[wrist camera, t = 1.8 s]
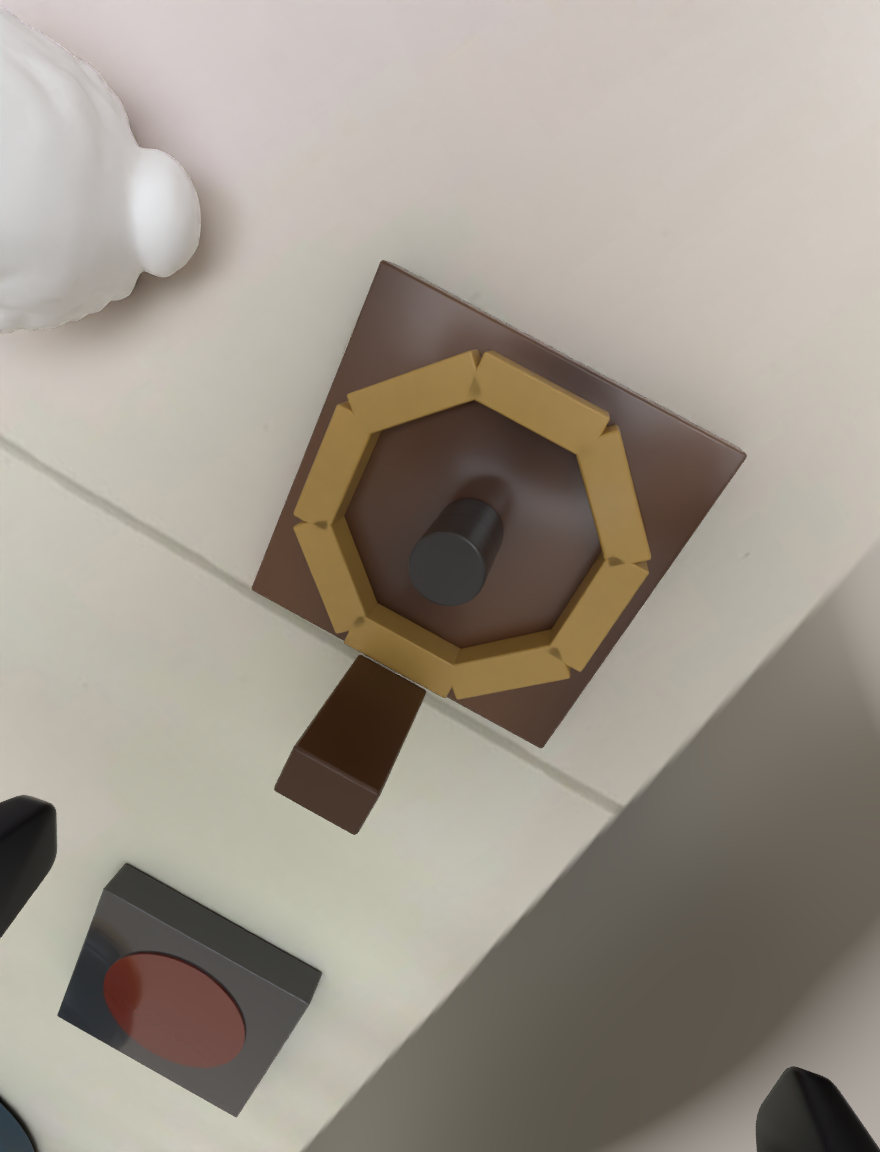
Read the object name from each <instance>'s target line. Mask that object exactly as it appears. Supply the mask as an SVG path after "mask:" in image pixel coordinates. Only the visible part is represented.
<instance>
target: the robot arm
mask: <svg viewBox="0 0 880 1152" xmlns="http://www.w3.org/2000/svg"><path fill="white" fill-rule="evenodd" d="M56 853H57V819H56V809H55V807H54V806H53V805H52V804H51V803H49V802H46V801H43V800H40V799H37V798H35V797H32V796H28V795H21V796H17V797H13V798H11V799H8V800H6V801H3V802H1V803H0V938H1V937H2V935H3V934H4V933H5V931H6V930H7V928H8V927H9V926H10V924H11V923H12V922H13V920H14V919H15V918H16V916H17V915H18V913H19V912H20V911H21V909H22V908H23V907H24V905H25V904H26V902H27V901H28V900H29V898H30V897H31V896H32V894H33V893H34V892H35V890H36V889H37V887H38V886H39V885H40V883H41V882H42V881H43V879H44V878H45V876H46V875H47V874H48V872H49V871H50V869H51V867H52V865H53V863H54V861H55V857H56ZM756 1144H757V1152H880V1149H879V1147H878V1146H877V1144H876V1143H875V1142H874V1140H873V1139H872V1137H871V1136H870V1134H869V1133H868V1131H867V1130H866V1128H865V1127H864V1126H863V1124H862V1123H861V1121H860V1120H859V1118H858V1117H857V1115H856V1114H855V1112H854V1111H853V1110H852V1108H851V1107H850V1105H849V1104H848V1102H847V1101H846V1100H845V1098H844V1097H843V1095H842V1094H841V1092H840V1091H839V1090H838V1089H837V1087H836V1086H835V1085H834V1084H833V1083H832V1082H831V1081H830V1080H829V1079H827V1078H825V1077H823V1076H821V1075H818V1074H815V1073H812V1072H810V1071H807V1070H804V1069H801V1068H798V1067H790V1068H787V1069H786V1070H785V1071H784V1072H783V1074H782V1075H781V1077H780V1078H779V1080H778V1081H777V1083H776V1084H775V1085H774V1087H773V1089H772V1090H771V1091H770V1093H769V1095H768V1096H767V1098H766V1099H765V1100H764V1102H763V1103H762V1105H761V1107H760V1109H759V1112H758V1115H757V1121H756Z"/></svg>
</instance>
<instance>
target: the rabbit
mask: <svg viewBox="0 0 880 1152" xmlns="http://www.w3.org/2000/svg"><path fill="white" fill-rule="evenodd" d="M200 230H201V213H200V204H199V199H198V195H197V193H196V190H195V188H194V186H193V183H192V181H191V179H190V178H189V176H188V174H187V172H186V171H185V169H184V168H183V167H182V166H181V164H180V163H179V162H178V161H177V160H176V159H174V158H173V157H172V156H171V155H169V154H167V153H165V152H163V151H161V150H158V149H145V148H141V147H140V146H139V145H138V144H137V142H136V140H135V138H134V136H133V133H132V131H131V129H130V126H129V121H128V117H127V114H126V111H125V109H124V106H123V104H122V103H121V101H120V99H119V98H118V97H117V96H116V94H115V93H114V92H113V91H112V90H111V89H110V88H109V87H108V85H107V84H106V82H105V81H104V79H103V78H102V76H101V75H100V74H99V72H98V71H97V70H96V69H95V68H94V67H92V66H91V65H89V64H88V63H86V62H84V61H82V60H81V59H79V58H77V57H74V56H73V55H72V54H71V53H70V52H69V51H67V50H66V49H65V48H64V47H62V46H61V45H59V44H58V43H56V42H54V41H53V40H51V39H50V38H48V37H47V36H46V35H45V34H43V33H42V32H40V31H39V30H37V29H35V28H33V27H31V26H29V25H27V24H25V23H24V22H22V21H21V20H20V19H18V18H17V17H16V16H15V15H13V14H12V13H11V12H10V11H8V10H6V9H5V8H3V7H1V6H0V333H12V332H14V331H17V330H19V329H22V330H27V331H34V330H39V329H52V328H56V327H59V326H61V325H63V324H64V323H66V322H68V321H78V320H81V319H82V318H84V317H85V316H86V315H87V314H93V313H97V312H99V311H100V310H102V309H103V308H104V307H105V306H106V305H107V304H108V303H109V302H110V301H117V300H121V299H124V298H126V297H127V296H129V295H130V294H131V292H132V290H133V288H134V287H135V284H136V281H137V279H138V277H139V275H140V273H142V272H144V271H145V272H148V273H150V274H153V275H155V276H158V277H169V276H170V275H172V274H174V273H175V272H176V271H177V270H179V269H181V268H182V267H183V266H185V265H186V263H187V262H188V261H189V260H190V258H191V257H192V256H193V254H194V253H195V251H196V249H197V247H198V244H199V239H200Z"/></svg>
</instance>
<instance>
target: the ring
mask: <svg viewBox="0 0 880 1152" xmlns="http://www.w3.org/2000/svg"><path fill="white" fill-rule="evenodd" d="M347 398H348V401H347V402H344V403H341V404H338V405H337V406H336V408H335V411H334V413H333V416H332V418H331V421H330V423H329V426H328V428H327V431H326V433H325V436H324V438H323V441H322V443H321V446H320V448H319V451H318V453H317V456H316V458H315V460H314V463H313V465H312V468H311V470H310V473H309V475H308V478H307V480H306V483H305V485H304V488H303V490H302V493H301V495H300V498H299V500H298V503H297V505H296V508H295V510H294V516H296V517H298V518H299V519H301V520H302V521H301V522H299V523H298V524H296V525H295V526H294V527H293V528H294V531H295V534H296V536H297V539H298V541H299V544H300V546H301V549H302V551H303V553H304V556H305V558H306V561H307V563H308V566H309V568H310V571H311V573H312V576H313V578H314V581H315V583H316V586H317V588H318V590H319V593H320V595H321V598H322V600H323V603H324V605H325V608H326V610H327V613H328V615H329V618H330V620H331V623H332V625H333V628H334V630H335V632H336V633H342V632H347V631H349V632H348V634H347V636H346V638H345V641H344V643H345V644H347V645H348V646H350V647H352V648H354V649H356V650H357V651H359V652H361V653H363V654H365V655H367V656H368V657H370V658H372V659H374V660H376V661H378V662H379V663H381V664H383V665H385V666H387V667H388V668H390V669H392V670H394V671H396V672H398V673H399V674H401V675H403V676H405V677H407V678H408V679H410V680H412V681H414V682H416V683H418V684H419V685H421V686H423V687H425V688H427V689H429V690H430V691H432V692H434V693H436V694H438V695H439V696H441V697H443V698H446V696H447V695H448V693H449V691H450V690H451V688H452V689H453V691H454V694H455V697H456V699H458V700H459V699H464V698H469V697H475V696H480V695H485V694H490V693H496V692H501V691H506V690H511V689H517V688H522V687H527V686H532V685H538V684H543V683H548V682H554V681H559V680H564V679H568V678H570V673H571V667H572V668H574V669H575V670H577V671H579V672H581V671H582V670H583V668H584V667H585V666H586V664H587V663H588V661H589V660H590V658H591V657H592V655H593V654H594V652H595V651H596V650H597V648H598V647H599V645H600V644H601V642H602V641H603V639H604V638H605V636H606V635H607V634H608V632H609V631H610V629H611V628H612V626H613V625H614V623H615V622H616V621H617V619H618V618H619V616H620V615H621V613H622V612H623V610H624V609H625V607H626V606H627V605H628V603H629V602H630V600H631V599H632V597H633V596H634V594H635V593H636V591H637V590H638V589H639V587H640V586H641V584H642V583H643V581H644V580H645V578H646V577H647V575H648V574H649V570H648V566H647V562H646V561H647V560H650V559H651V553H650V549H649V545H648V541H647V537H646V533H645V529H644V525H643V521H642V517H641V513H640V509H639V505H638V501H637V497H636V493H635V489H634V485H633V481H632V477H631V473H630V469H629V465H628V461H627V457H626V453H625V449H624V445H623V441H622V437H621V433H620V429H619V427H618V425H611V426H608V427H606V426H607V424H608V422H609V421H610V416H609V413H608V412H607V411H605V410H603V409H601V408H600V407H598V406H596V405H594V404H592V403H590V402H588V401H586V400H585V399H583V398H581V397H579V396H577V395H575V394H573V393H572V392H570V391H568V390H566V389H564V388H562V387H560V386H558V385H557V384H555V383H553V382H551V381H549V380H547V379H545V378H544V377H542V376H540V375H538V374H536V373H534V372H532V371H530V370H529V369H527V368H525V367H523V366H521V365H519V364H517V363H516V362H514V361H512V360H510V359H508V358H506V357H504V356H502V355H501V354H499V353H497V352H495V351H493V350H491V351H486V352H485V353H484V354H483V356H482V358H481V356H480V353H479V351H478V349H475V350H470V351H467V352H464V353H461V354H458V355H455V356H452V357H450V358H447V359H444V360H441V361H438V362H436V363H433V364H430V365H427V366H424V367H422V368H419V369H416V370H413V371H410V372H408V373H405V374H402V375H399V376H396V377H394V378H391V379H388V380H385V381H382V382H380V383H377V384H374V385H371V386H368V387H366V388H363V389H360V390H357V391H354V392H352V393H349V394H348V395H347ZM473 400H475V401H477V402H479V403H481V404H483V405H485V406H486V407H488V408H490V409H492V410H494V411H496V412H498V413H499V414H501V415H503V416H505V417H507V418H509V419H511V420H513V421H514V422H516V423H518V424H520V425H522V426H524V427H526V428H527V429H529V430H531V431H533V432H535V433H537V434H539V435H540V436H542V437H544V438H546V439H548V440H550V441H552V442H553V443H555V444H557V445H559V446H561V447H563V448H565V449H566V450H568V451H570V452H572V453H574V454H576V457H577V461H578V464H579V468H580V472H581V475H582V479H583V483H584V487H585V490H586V494H587V498H588V501H589V505H590V509H591V512H592V516H593V520H594V523H595V527H596V531H597V534H598V538H599V542H600V545H601V549H602V551H601V553H600V555H599V556H598V558H597V559H596V561H595V562H594V564H593V565H592V567H591V569H590V570H589V572H588V573H587V575H586V576H585V578H584V579H583V581H582V583H581V584H580V586H579V587H578V589H577V590H576V592H575V593H574V595H573V597H572V598H571V600H570V601H569V603H568V604H567V606H566V607H565V609H564V611H563V612H562V614H561V615H560V617H559V618H558V620H557V621H556V623H555V625H554V626H553V628H552V629H550V630H546V631H541V632H536V633H531V634H527V635H522V636H517V637H513V638H508V639H503V640H499V641H494V642H489V643H485V644H480V645H475V646H471V647H466V648H459V647H457V646H455V645H453V644H451V643H450V642H448V641H446V640H444V639H442V638H440V637H439V636H437V635H435V634H433V633H431V632H430V631H428V630H426V629H424V628H422V627H420V626H419V625H417V624H415V623H413V622H411V621H409V620H408V619H406V618H404V617H402V616H400V615H398V614H397V613H395V612H393V611H391V610H389V609H387V608H386V607H384V606H382V605H380V604H378V603H377V601H376V598H375V596H374V593H373V590H372V588H371V585H370V582H369V580H368V577H367V575H366V572H365V569H364V567H363V564H362V561H361V559H360V556H359V554H358V551H357V548H356V546H355V543H354V540H353V538H352V535H351V532H350V530H349V527H348V525H347V522H346V519H345V517H344V515H345V513H346V511H347V508H348V506H349V504H350V502H351V499H352V497H353V495H354V492H355V490H356V488H357V486H358V483H359V481H360V479H361V477H362V474H363V472H364V470H365V468H366V465H367V463H368V461H369V458H370V456H371V454H372V452H373V449H374V447H375V445H376V443H377V440H378V438H379V436H380V434H381V431H382V430H385V429H388V428H391V427H394V426H397V425H400V424H403V423H406V422H409V421H412V420H415V419H418V418H422V417H425V416H428V415H431V414H434V413H437V412H440V411H443V410H446V409H449V408H452V407H455V406H458V405H461V404H464V403H467V402H470V401H473ZM425 695H426V691H425V690H424V689H422V688H421V687H419V686H417V685H415V684H413V683H412V682H410V681H408V680H406V679H404V678H402V677H401V676H399V675H397V674H395V673H393V672H392V671H390V670H388V669H386V668H384V667H382V666H381V665H379V664H377V663H375V662H373V661H371V660H370V659H368V658H366V657H364V656H362V655H359V656H358V657H357V658H356V660H355V661H354V662H353V664H352V665H351V667H350V668H349V669H348V671H347V672H346V674H345V675H344V676H343V678H342V679H341V681H340V682H339V684H338V685H337V686H336V688H335V689H334V691H333V692H332V693H331V695H330V696H329V698H328V699H327V700H326V702H325V703H324V705H323V706H322V708H321V709H320V710H319V712H318V713H317V715H316V716H315V717H314V719H313V720H312V722H311V723H310V724H309V726H308V727H307V729H306V730H305V732H304V733H303V734H302V736H301V737H300V739H299V740H298V741H297V743H296V744H295V746H294V747H293V749H292V751H291V753H290V755H289V758H288V760H287V762H286V764H285V766H284V768H283V770H282V772H281V774H280V776H279V778H278V780H277V782H276V784H275V788H274V790H275V791H276V792H278V793H279V794H281V795H283V796H285V797H287V798H288V799H290V800H292V801H294V802H296V803H297V804H299V805H301V806H303V807H305V808H306V809H308V810H310V811H312V812H314V813H315V814H317V815H319V816H321V817H323V818H324V819H326V820H328V821H330V822H332V823H333V824H335V825H337V826H339V827H341V828H342V829H344V830H346V831H348V832H350V833H351V834H354V835H356V834H357V833H358V832H359V830H360V829H361V827H362V825H363V824H364V822H365V820H366V818H367V817H368V815H369V813H370V812H371V810H372V808H373V806H374V805H375V803H376V801H377V800H378V798H379V796H380V794H381V792H382V790H383V788H384V786H385V783H386V781H387V779H388V777H389V774H390V772H391V770H392V768H393V766H394V763H395V761H396V759H397V757H398V754H399V752H400V750H401V748H402V746H403V743H404V741H405V739H406V737H407V735H408V732H409V730H410V728H411V726H412V723H413V721H414V719H415V717H416V715H417V712H418V710H419V708H420V706H421V703H422V701H423V699H424V697H425Z"/></svg>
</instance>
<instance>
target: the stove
mask: <svg viewBox="0 0 880 1152" xmlns="http://www.w3.org/2000/svg"><path fill="white" fill-rule="evenodd" d="M321 976H322V973H321V972H319V971H317V970H315V969H313V968H312V967H310V966H308V965H306V964H305V963H303V962H301V961H299V960H297V959H296V958H294V957H292V956H290V955H289V954H287V953H285V952H283V951H281V950H280V949H278V948H276V947H274V946H272V945H271V944H269V943H267V942H265V941H264V940H262V939H260V938H258V937H256V936H255V935H253V934H251V933H249V932H248V931H246V930H244V929H242V928H240V927H239V926H237V925H235V924H233V923H231V922H230V921H228V920H226V919H224V918H223V917H221V916H219V915H217V914H215V913H214V912H212V911H210V910H208V909H207V908H205V907H203V906H201V905H199V904H198V903H196V902H194V901H192V900H190V899H189V898H187V897H185V896H183V895H182V894H180V893H178V892H176V891H174V890H173V889H171V888H169V887H167V886H166V885H164V884H162V883H160V882H158V881H157V880H155V879H153V878H151V877H149V876H148V875H146V874H144V873H142V872H141V871H139V870H137V869H135V868H133V867H132V866H130V865H128V864H125V865H124V866H123V867H122V868H121V869H120V870H119V872H118V873H117V874H116V875H115V876H114V877H113V879H112V880H111V881H110V882H109V883H108V884H107V885H106V887H105V888H104V890H103V892H102V895H101V898H100V900H99V903H98V906H97V909H96V911H95V914H94V917H93V920H92V922H91V925H90V928H89V930H88V933H87V936H86V939H85V941H84V944H83V947H82V950H81V952H80V955H79V958H78V960H77V963H76V966H75V969H74V971H73V974H72V977H71V980H70V982H69V985H68V988H67V990H66V993H65V996H64V999H63V1001H62V1004H61V1007H60V1010H59V1012H58V1015H57V1016H58V1017H60V1018H62V1019H64V1020H65V1021H67V1022H69V1023H71V1024H72V1025H74V1026H76V1027H78V1028H79V1029H81V1030H83V1031H85V1032H86V1033H88V1034H90V1035H92V1036H93V1037H95V1038H97V1039H99V1040H101V1041H102V1042H104V1043H106V1044H108V1045H109V1046H111V1047H113V1048H115V1049H116V1050H118V1051H120V1052H122V1053H123V1054H125V1055H127V1056H129V1057H130V1058H132V1059H134V1060H136V1061H137V1062H139V1063H141V1064H143V1065H145V1066H146V1067H148V1068H150V1069H152V1070H153V1071H155V1072H157V1073H159V1074H160V1075H162V1076H164V1077H166V1078H167V1079H169V1080H171V1081H173V1082H174V1083H176V1084H178V1085H180V1086H182V1087H183V1088H185V1089H187V1090H189V1091H190V1092H192V1093H194V1094H196V1095H197V1096H199V1097H201V1098H203V1099H204V1100H206V1101H208V1102H210V1103H211V1104H213V1105H215V1106H217V1107H218V1108H220V1109H222V1110H224V1111H226V1112H227V1113H229V1114H231V1115H233V1116H234V1117H238V1115H239V1113H240V1112H241V1110H242V1109H243V1107H244V1106H245V1104H246V1103H247V1101H248V1099H249V1098H250V1096H251V1095H252V1093H253V1092H254V1090H255V1089H256V1087H257V1085H258V1084H259V1082H260V1081H261V1079H262V1078H263V1076H264V1074H265V1073H266V1071H267V1070H268V1068H269V1067H270V1065H271V1064H272V1062H273V1060H274V1059H275V1057H276V1056H277V1054H278V1053H279V1051H280V1050H281V1048H282V1046H283V1045H284V1043H285V1042H286V1040H287V1039H288V1037H289V1036H290V1034H291V1032H292V1031H293V1029H294V1028H295V1026H296V1025H297V1023H298V1021H299V1020H300V1018H301V1017H302V1015H303V1014H304V1012H305V1011H306V1009H307V1007H308V1006H309V1004H310V1002H311V1000H312V997H313V995H314V992H315V990H316V988H317V985H318V983H319V980H320V978H321Z"/></svg>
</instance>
